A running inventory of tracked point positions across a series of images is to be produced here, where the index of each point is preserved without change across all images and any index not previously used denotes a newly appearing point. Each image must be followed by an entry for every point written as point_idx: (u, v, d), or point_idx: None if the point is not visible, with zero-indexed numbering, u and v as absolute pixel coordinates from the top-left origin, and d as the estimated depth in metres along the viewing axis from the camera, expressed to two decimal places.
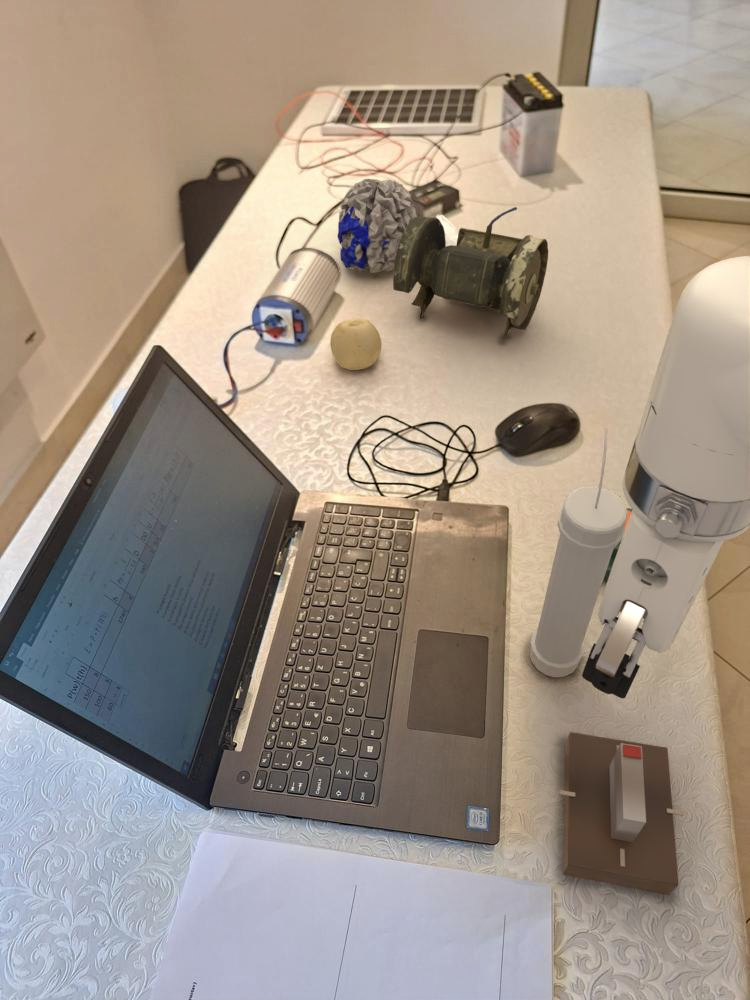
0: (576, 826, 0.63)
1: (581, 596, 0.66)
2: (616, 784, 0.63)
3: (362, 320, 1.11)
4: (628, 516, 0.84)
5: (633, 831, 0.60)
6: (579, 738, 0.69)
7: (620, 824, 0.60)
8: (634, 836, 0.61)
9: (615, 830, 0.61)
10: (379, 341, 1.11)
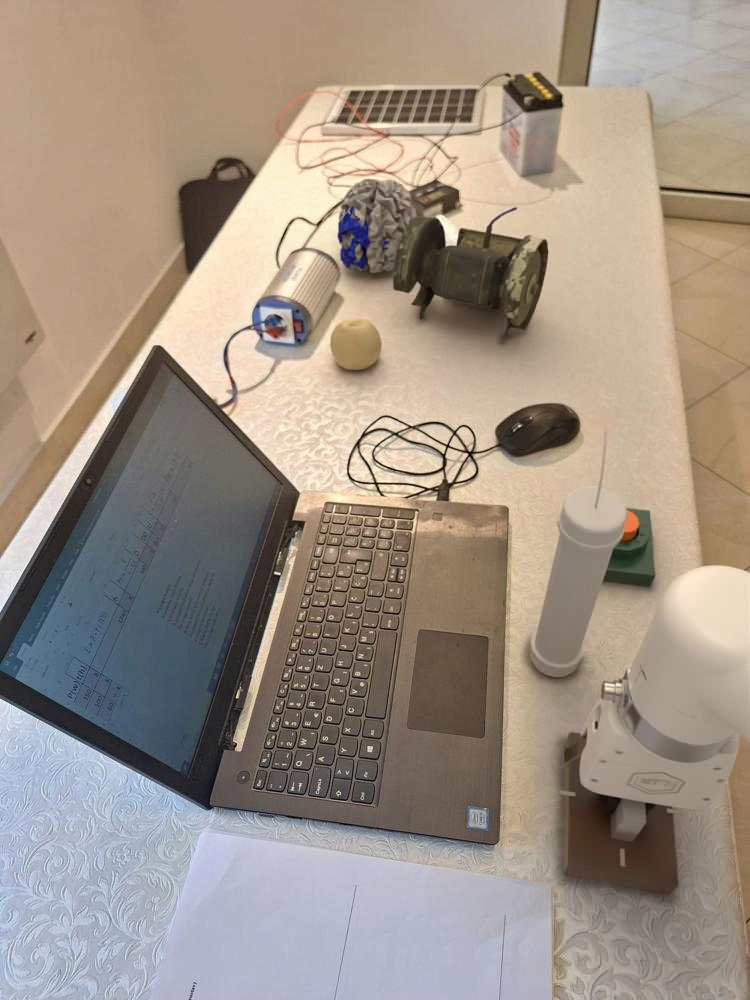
0: (576, 826, 0.63)
1: (581, 596, 0.66)
2: None
3: (362, 320, 1.11)
4: (628, 516, 0.84)
5: (633, 831, 0.60)
6: (579, 738, 0.69)
7: (620, 824, 0.60)
8: (634, 836, 0.61)
9: (615, 830, 0.61)
10: (379, 341, 1.11)
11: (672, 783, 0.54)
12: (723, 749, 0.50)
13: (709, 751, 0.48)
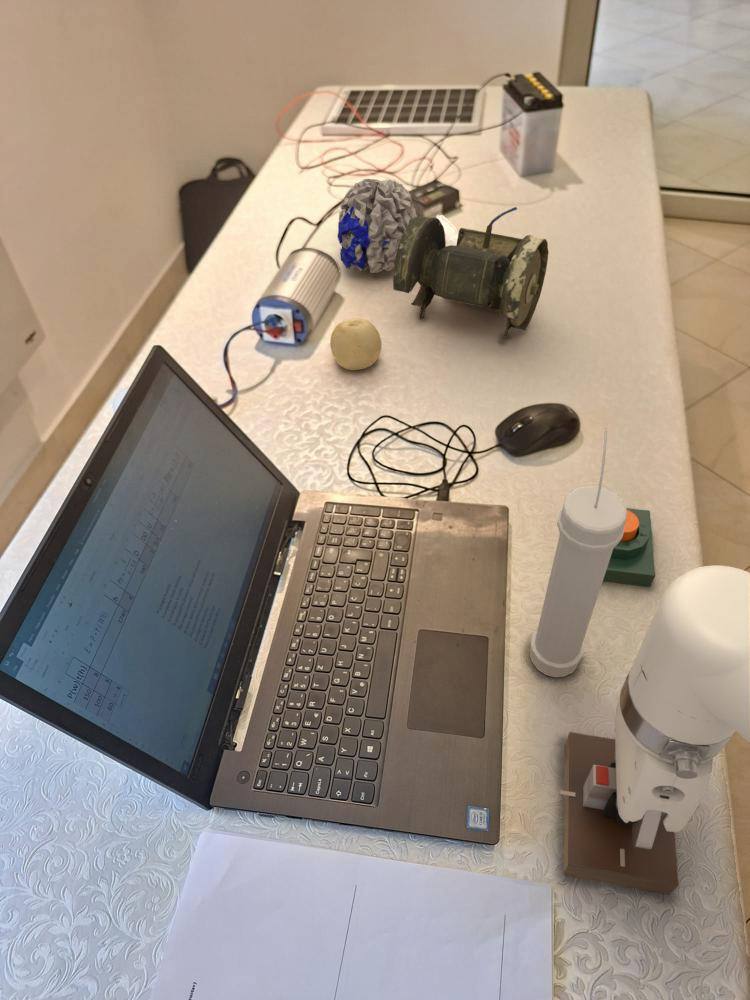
0: (576, 826, 0.63)
1: (581, 596, 0.66)
2: None
3: (362, 320, 1.11)
4: (628, 516, 0.84)
5: None
6: (579, 738, 0.69)
7: None
8: None
9: None
10: (379, 341, 1.11)
11: None
12: None
13: None
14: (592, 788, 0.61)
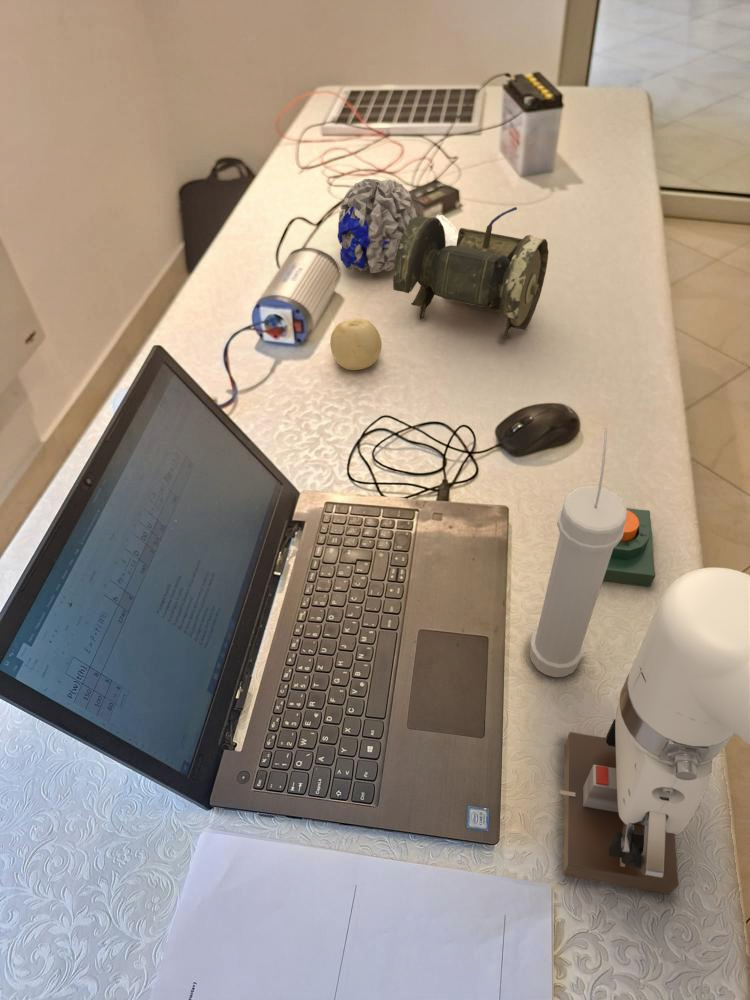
0: (576, 826, 0.63)
1: (581, 596, 0.66)
2: None
3: (362, 320, 1.11)
4: (628, 516, 0.84)
5: None
6: (579, 738, 0.69)
7: None
8: None
9: None
10: (379, 341, 1.11)
11: None
12: None
13: None
14: (592, 788, 0.61)
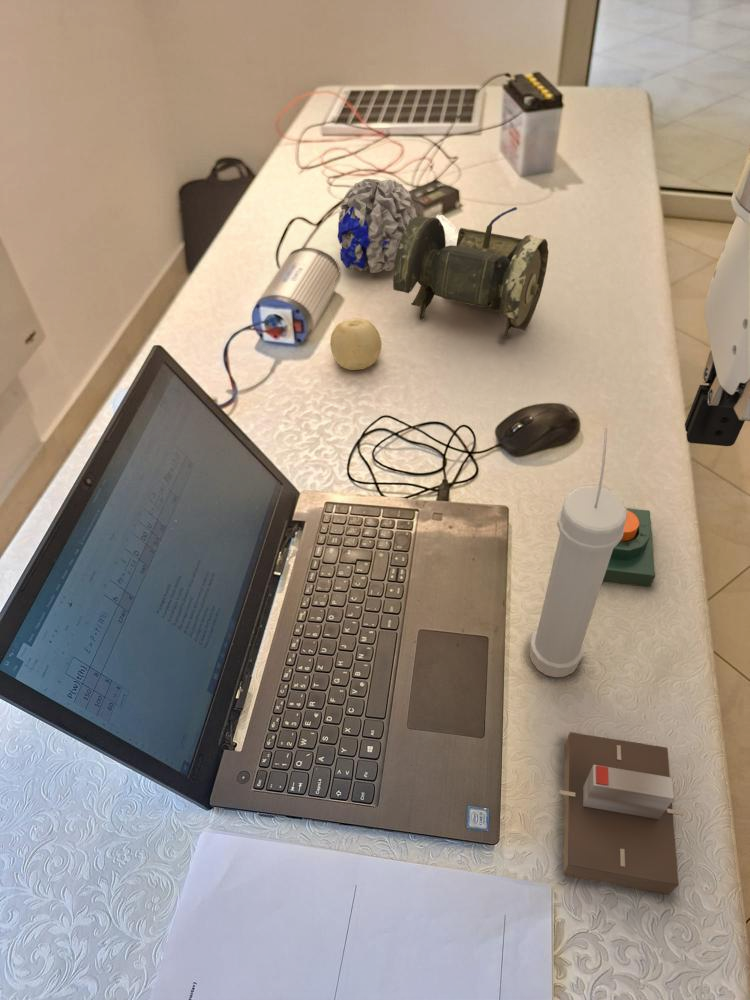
0: (576, 826, 0.63)
1: (581, 596, 0.66)
2: (622, 800, 0.62)
3: (362, 320, 1.11)
4: (628, 516, 0.84)
5: None
6: (579, 738, 0.69)
7: (669, 804, 0.61)
8: None
9: (663, 812, 0.62)
10: (379, 341, 1.11)
11: None
12: None
13: None
14: (592, 788, 0.61)
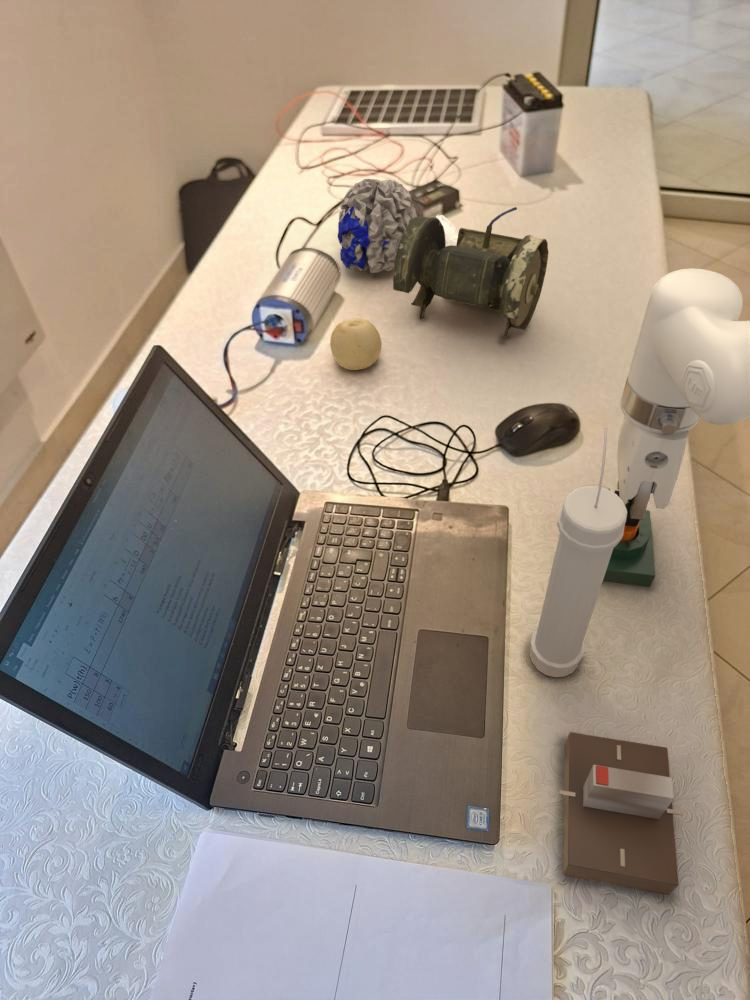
0: (576, 826, 0.63)
1: (581, 596, 0.66)
2: (622, 800, 0.62)
3: (362, 320, 1.11)
4: None
5: None
6: (579, 738, 0.69)
7: (669, 804, 0.61)
8: None
9: (663, 812, 0.62)
10: (379, 341, 1.11)
11: None
12: None
13: None
14: (592, 788, 0.61)
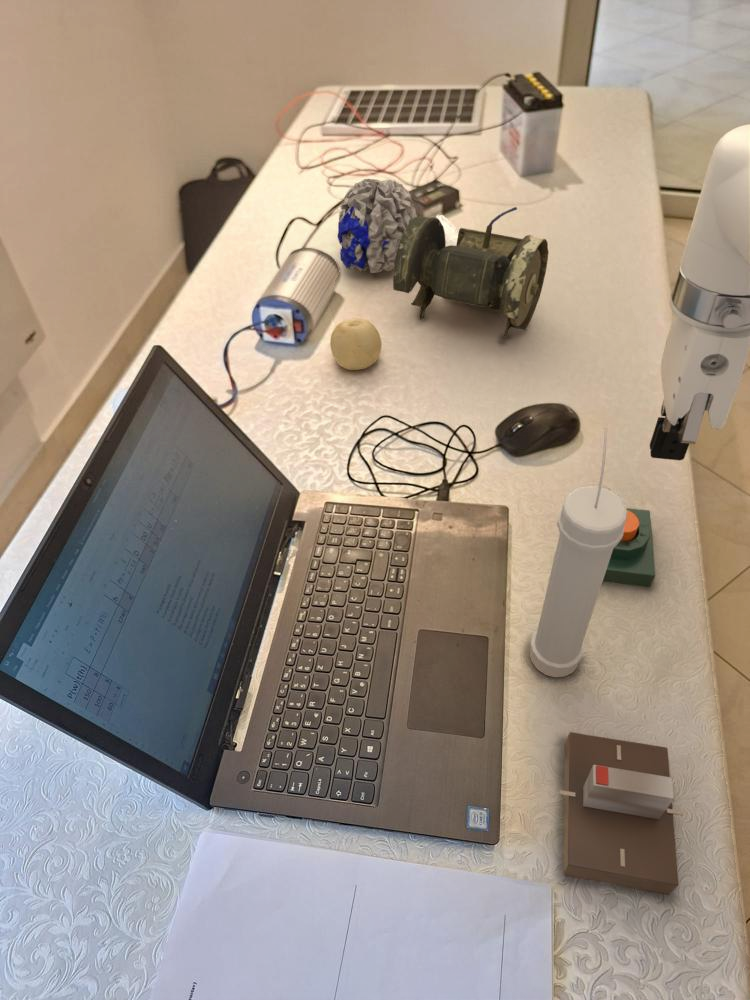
0: (576, 826, 0.63)
1: (581, 596, 0.66)
2: (622, 800, 0.62)
3: (362, 320, 1.11)
4: (628, 516, 0.84)
5: None
6: (579, 738, 0.69)
7: (669, 804, 0.61)
8: None
9: (663, 812, 0.62)
10: (379, 341, 1.11)
11: None
12: None
13: None
14: (592, 788, 0.61)
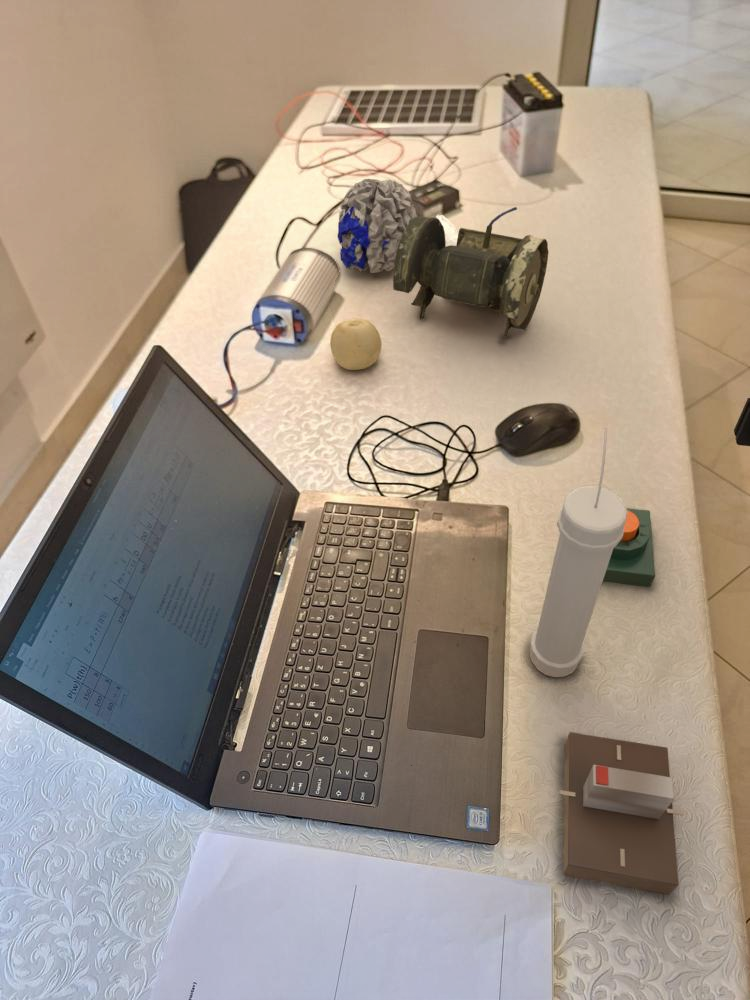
0: (576, 826, 0.63)
1: (581, 596, 0.66)
2: (622, 800, 0.62)
3: (362, 320, 1.11)
4: (628, 516, 0.84)
5: None
6: (579, 738, 0.69)
7: (669, 804, 0.61)
8: None
9: (663, 812, 0.62)
10: (379, 341, 1.11)
11: None
12: None
13: None
14: (592, 788, 0.61)
